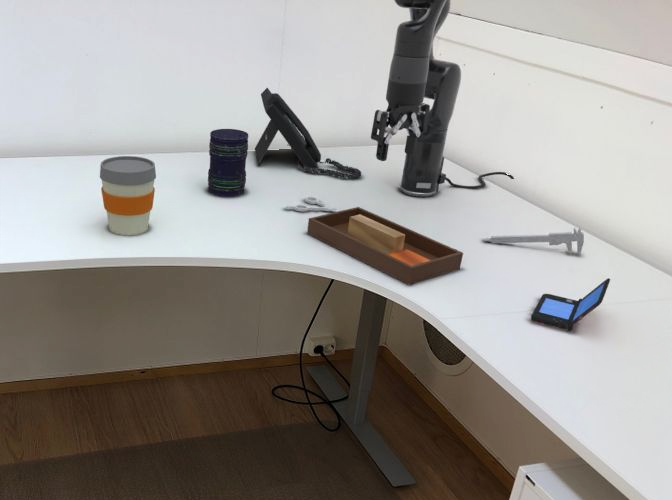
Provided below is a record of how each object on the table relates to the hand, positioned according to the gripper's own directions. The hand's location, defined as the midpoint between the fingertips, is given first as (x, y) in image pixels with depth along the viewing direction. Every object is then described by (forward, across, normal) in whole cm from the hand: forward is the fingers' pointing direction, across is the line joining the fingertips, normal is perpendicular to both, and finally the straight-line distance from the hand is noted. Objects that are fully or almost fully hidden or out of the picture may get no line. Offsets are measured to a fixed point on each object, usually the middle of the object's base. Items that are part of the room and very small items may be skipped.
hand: (395, 157), depth 168 cm
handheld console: (+20, +5, -43) cm, 48 cm away
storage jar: (+20, -9, +47) cm, 52 cm away
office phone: (+21, +26, +55) cm, 65 cm away
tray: (+20, -3, -2) cm, 20 cm away
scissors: (+20, +4, +22) cm, 30 cm away
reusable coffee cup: (+20, -44, +37) cm, 61 cm away
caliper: (+21, +29, -19) cm, 40 cm away
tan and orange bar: (+19, -3, -4) cm, 20 cm away
